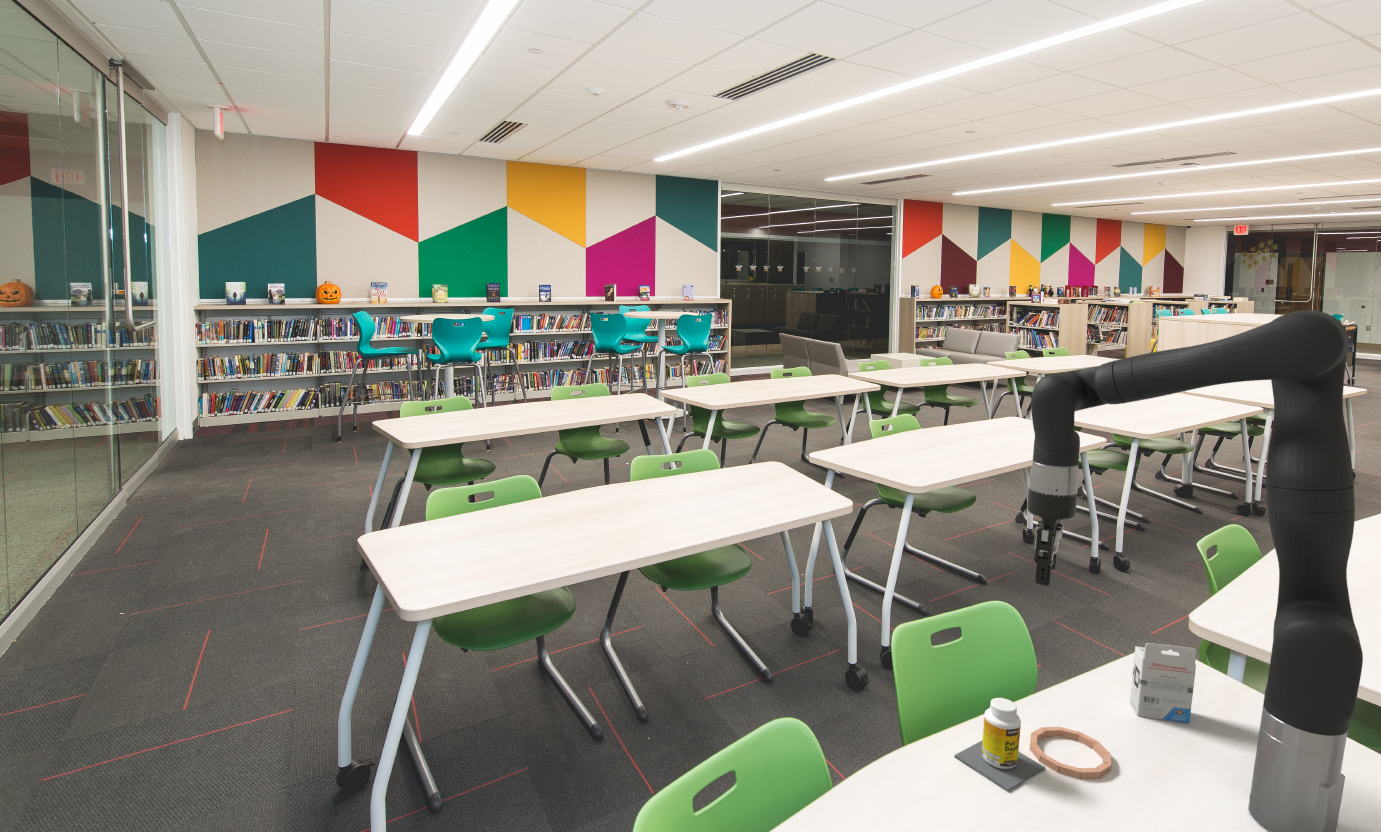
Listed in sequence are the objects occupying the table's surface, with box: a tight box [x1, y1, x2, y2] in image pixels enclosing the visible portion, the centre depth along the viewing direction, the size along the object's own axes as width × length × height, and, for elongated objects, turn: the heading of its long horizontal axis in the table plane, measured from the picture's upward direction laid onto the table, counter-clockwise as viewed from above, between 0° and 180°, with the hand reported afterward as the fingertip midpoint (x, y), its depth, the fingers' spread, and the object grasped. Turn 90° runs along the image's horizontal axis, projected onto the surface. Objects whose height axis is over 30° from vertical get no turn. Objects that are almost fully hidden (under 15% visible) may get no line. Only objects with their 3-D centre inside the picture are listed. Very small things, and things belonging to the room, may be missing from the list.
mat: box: [954, 739, 1046, 793], centre depth 117 cm, size 10×10×1 cm
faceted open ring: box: [1029, 726, 1112, 780], centre depth 118 cm, size 12×12×1 cm
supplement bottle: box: [982, 697, 1022, 769], centre depth 116 cm, size 6×6×10 cm
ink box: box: [1129, 642, 1198, 724], centre depth 129 cm, size 9×5×15 cm, turn 73°
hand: (1045, 576), depth 123 cm, fingers open, 8 cm apart
